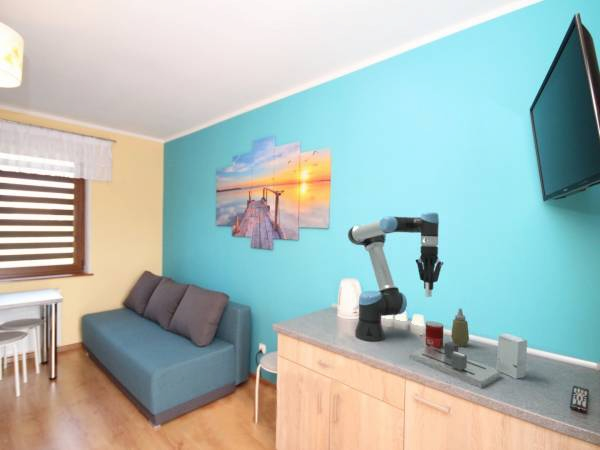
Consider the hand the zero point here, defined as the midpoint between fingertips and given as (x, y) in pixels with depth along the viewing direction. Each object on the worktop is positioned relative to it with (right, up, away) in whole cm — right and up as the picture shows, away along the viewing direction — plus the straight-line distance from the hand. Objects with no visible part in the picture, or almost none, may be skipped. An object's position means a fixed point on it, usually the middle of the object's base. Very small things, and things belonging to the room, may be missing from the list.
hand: (428, 296), depth 142 cm
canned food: (+7, -27, +10) cm, 29 cm away
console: (+4, -26, -14) cm, 30 cm away
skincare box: (+25, -27, -19) cm, 42 cm away
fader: (+3, -23, -21) cm, 31 cm away
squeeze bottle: (+21, -27, +12) cm, 37 cm away
